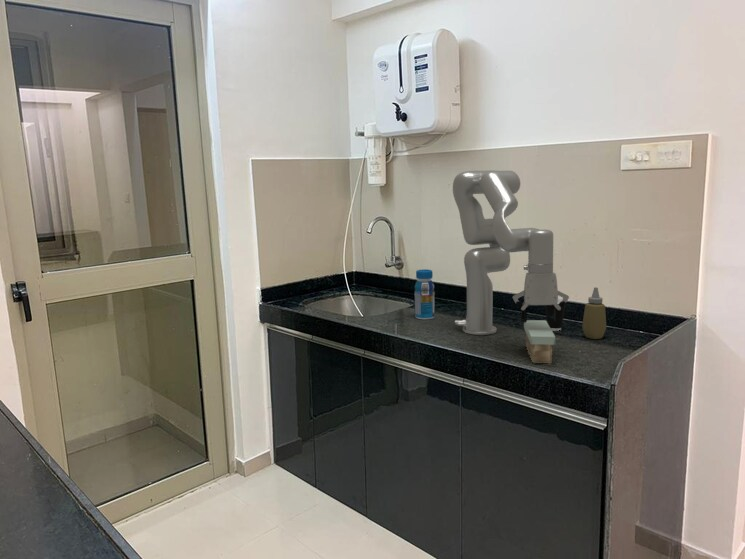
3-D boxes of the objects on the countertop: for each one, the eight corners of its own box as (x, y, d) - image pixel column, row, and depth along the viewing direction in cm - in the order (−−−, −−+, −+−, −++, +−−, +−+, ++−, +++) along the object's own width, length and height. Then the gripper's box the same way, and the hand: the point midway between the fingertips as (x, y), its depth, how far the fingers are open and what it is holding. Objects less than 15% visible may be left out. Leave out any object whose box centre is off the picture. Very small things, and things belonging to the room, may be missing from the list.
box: (532, 363, 175) (532, 338, 173) (525, 346, 193) (526, 323, 191) (551, 364, 174) (552, 339, 172) (543, 346, 192) (543, 323, 190)
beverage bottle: (410, 318, 236) (409, 271, 232) (422, 314, 242) (421, 268, 239) (427, 321, 230) (426, 272, 227) (438, 316, 237) (438, 270, 233)
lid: (530, 344, 173) (530, 336, 173) (523, 327, 192) (524, 320, 192) (555, 344, 172) (555, 336, 171) (545, 327, 191) (545, 320, 191)
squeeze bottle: (577, 334, 205) (579, 286, 202) (599, 333, 206) (601, 285, 202) (588, 340, 197) (590, 290, 194) (610, 339, 198) (612, 289, 194)
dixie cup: (551, 333, 208) (552, 303, 206) (539, 327, 215) (539, 299, 213) (569, 330, 210) (570, 302, 208) (557, 325, 218) (557, 297, 216)
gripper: (513, 271, 176) (513, 324, 179) (571, 270, 173) (570, 324, 176) (511, 267, 183) (511, 319, 186) (566, 266, 180) (566, 318, 183)
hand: (540, 321), depth 181 cm, fingers open, 9 cm apart
